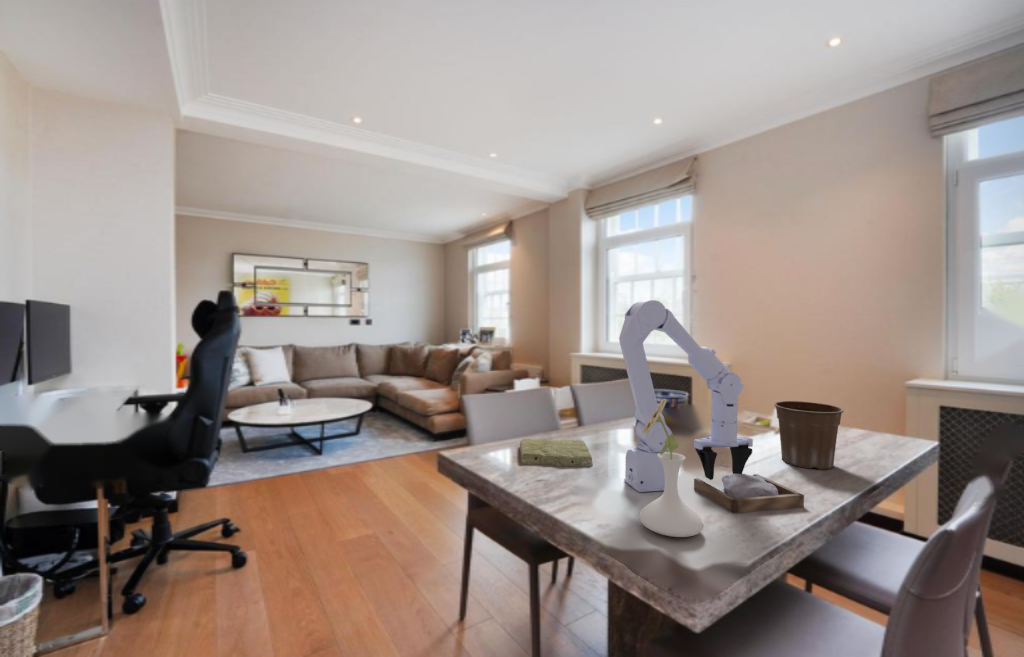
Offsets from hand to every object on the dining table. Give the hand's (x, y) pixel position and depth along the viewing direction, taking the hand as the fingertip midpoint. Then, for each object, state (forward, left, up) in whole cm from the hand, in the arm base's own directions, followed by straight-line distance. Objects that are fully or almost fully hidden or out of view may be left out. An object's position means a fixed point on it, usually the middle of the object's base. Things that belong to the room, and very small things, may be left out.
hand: (723, 477), depth 107 cm
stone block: (+1, -7, -2) cm, 7 cm away
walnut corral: (0, -8, -2) cm, 8 cm away
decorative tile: (-33, +30, -3) cm, 45 cm away
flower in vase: (-26, -19, -2) cm, 32 cm away
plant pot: (+35, +11, -2) cm, 37 cm away
